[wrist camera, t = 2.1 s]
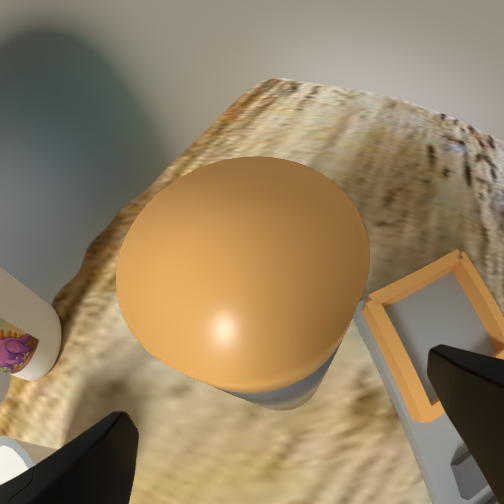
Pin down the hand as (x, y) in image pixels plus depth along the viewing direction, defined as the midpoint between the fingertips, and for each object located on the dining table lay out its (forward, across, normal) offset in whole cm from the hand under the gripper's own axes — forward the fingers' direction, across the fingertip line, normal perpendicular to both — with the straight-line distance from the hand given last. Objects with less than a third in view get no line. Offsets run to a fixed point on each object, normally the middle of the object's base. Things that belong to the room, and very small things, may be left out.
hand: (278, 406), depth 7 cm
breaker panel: (+4, -11, +10) cm, 16 cm away
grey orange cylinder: (+9, 0, +5) cm, 10 cm away
